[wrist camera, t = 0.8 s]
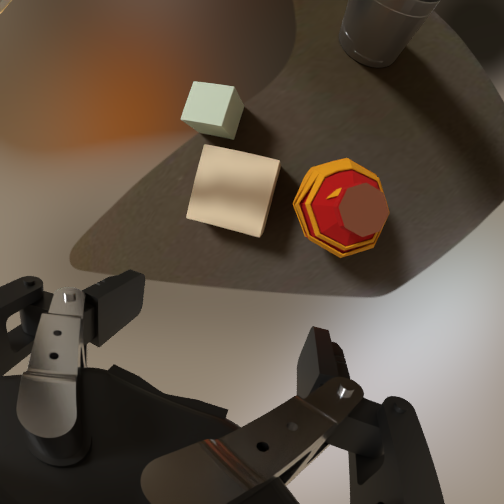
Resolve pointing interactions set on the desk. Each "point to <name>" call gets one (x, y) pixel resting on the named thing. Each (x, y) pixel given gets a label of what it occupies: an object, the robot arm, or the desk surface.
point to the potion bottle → (341, 207)
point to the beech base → (233, 190)
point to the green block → (213, 109)
